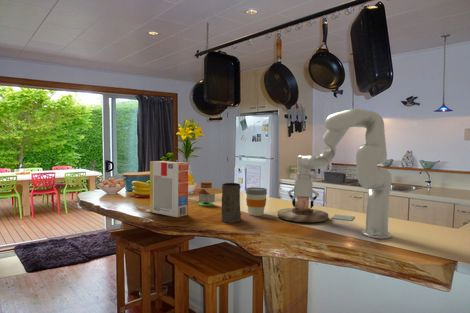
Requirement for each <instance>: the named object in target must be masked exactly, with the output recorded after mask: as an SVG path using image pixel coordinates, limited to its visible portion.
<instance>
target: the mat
mask: <svg viewBox="0 0 470 313" xmlns="http://www.w3.org/2000/svg"><path fill="white" fill-rule="evenodd" d="M330 218H331V219H333V220H339V221H350V222H352V221H353V220H354V219H355V216H352V215H344V214H334V215H333V216H331V217H330Z"/></svg>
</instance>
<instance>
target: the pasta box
mask: <svg viewBox="0 0 470 313" xmlns="http://www.w3.org/2000/svg"><path fill="white" fill-rule="evenodd" d="M188 208H189V162H182V161H181V162H180V161H168V160H167V161H166V160H156V161H155V160H152V161H151V160H150V161H149V213H154V214H159V215H164V216H167V217H175V218H180V217H186V216H188V215H189V209H188Z"/></svg>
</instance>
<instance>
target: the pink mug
mask: <svg viewBox="0 0 470 313" xmlns="http://www.w3.org/2000/svg"><path fill="white" fill-rule="evenodd" d="M296 198H297V199H296V201H297V210H300V211H309V206H310V205H309V203H310V202H309V201H310V198H309V197H296Z"/></svg>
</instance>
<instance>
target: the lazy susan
mask: <svg viewBox="0 0 470 313" xmlns="http://www.w3.org/2000/svg"><path fill="white" fill-rule="evenodd" d="M277 217H278V218H280V219H282V220H287V221H291V222H297V223H298V222H299V223H319V222H320V223H321V222H325V221H327V220H329V213H328V212H326V211H323V210H321V209H314V208H309V211H300V210H297V200H295V207H288V208H281V209H278V210H277Z"/></svg>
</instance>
